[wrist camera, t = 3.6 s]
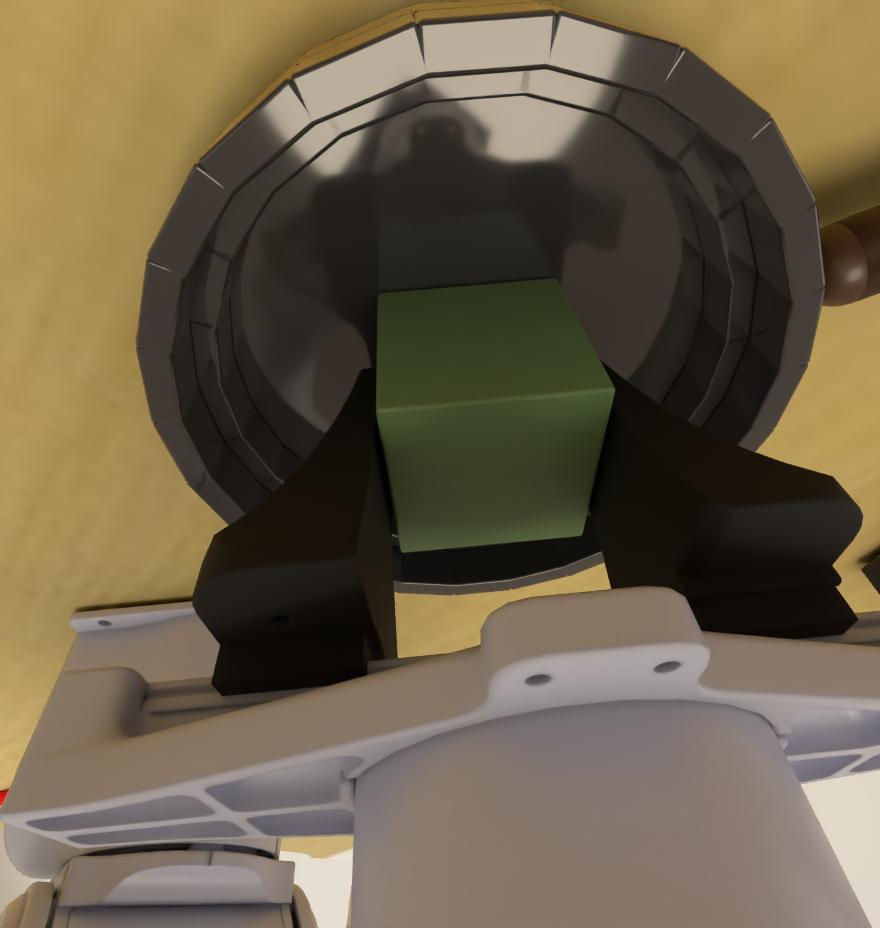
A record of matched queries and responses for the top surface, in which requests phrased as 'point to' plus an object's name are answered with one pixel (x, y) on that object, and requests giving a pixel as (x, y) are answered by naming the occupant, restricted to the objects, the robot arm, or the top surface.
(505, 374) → the block
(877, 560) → the disk drive
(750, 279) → the skillet
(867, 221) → the skillet handle
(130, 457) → the top surface
